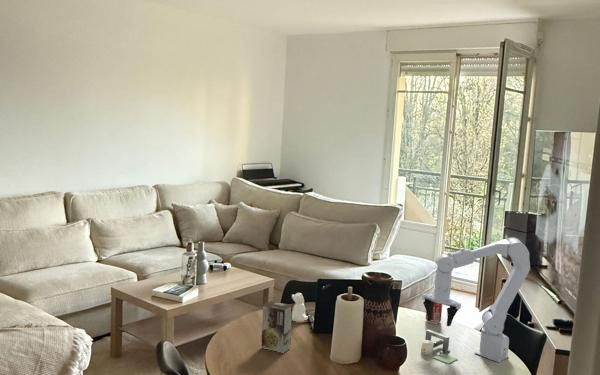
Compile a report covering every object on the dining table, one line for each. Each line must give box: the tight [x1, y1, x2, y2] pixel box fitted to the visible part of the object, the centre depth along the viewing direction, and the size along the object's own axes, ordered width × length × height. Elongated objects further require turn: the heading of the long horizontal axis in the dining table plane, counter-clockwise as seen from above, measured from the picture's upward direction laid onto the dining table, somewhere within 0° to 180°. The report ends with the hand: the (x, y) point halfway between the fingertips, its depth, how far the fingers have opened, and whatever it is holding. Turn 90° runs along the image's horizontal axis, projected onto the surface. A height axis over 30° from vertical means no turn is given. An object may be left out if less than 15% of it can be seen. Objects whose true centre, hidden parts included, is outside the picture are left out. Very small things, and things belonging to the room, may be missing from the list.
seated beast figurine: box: [291, 292, 309, 322], centre depth 226 cm, size 10×9×12 cm
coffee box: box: [261, 300, 294, 353], centre depth 197 cm, size 9×6×16 cm
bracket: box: [424, 329, 451, 355], centre depth 205 cm, size 9×4×6 cm, turn 44°
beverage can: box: [425, 292, 443, 325], centre depth 233 cm, size 6×6×12 cm
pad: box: [433, 353, 458, 365], centre depth 197 cm, size 6×6×1 cm
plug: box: [420, 339, 443, 356], centre depth 203 cm, size 4×12×4 cm, turn 132°
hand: (439, 322), depth 205 cm, fingers open, 7 cm apart
